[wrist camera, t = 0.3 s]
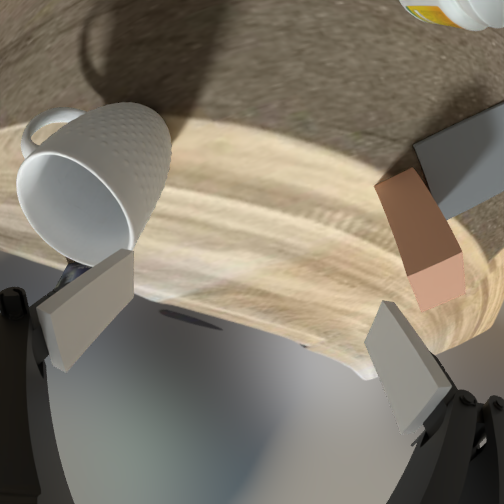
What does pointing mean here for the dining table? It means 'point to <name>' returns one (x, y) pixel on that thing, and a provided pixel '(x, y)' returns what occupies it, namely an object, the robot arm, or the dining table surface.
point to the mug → (94, 178)
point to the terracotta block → (423, 240)
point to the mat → (465, 161)
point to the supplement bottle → (458, 12)
